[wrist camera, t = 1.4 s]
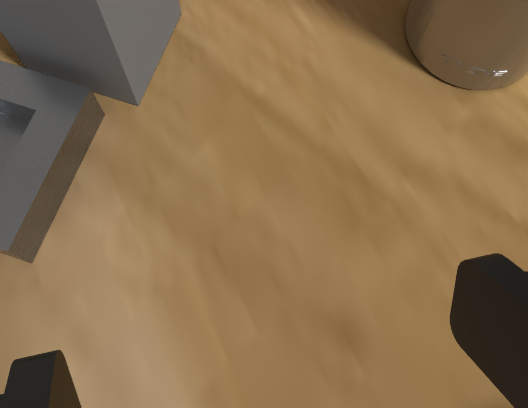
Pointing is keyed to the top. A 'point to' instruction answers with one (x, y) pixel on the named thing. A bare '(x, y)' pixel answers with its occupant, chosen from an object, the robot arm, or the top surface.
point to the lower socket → (39, 152)
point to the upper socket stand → (92, 41)
